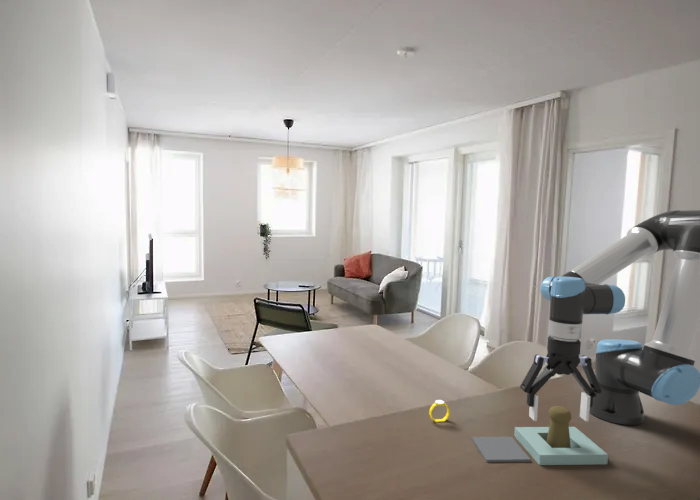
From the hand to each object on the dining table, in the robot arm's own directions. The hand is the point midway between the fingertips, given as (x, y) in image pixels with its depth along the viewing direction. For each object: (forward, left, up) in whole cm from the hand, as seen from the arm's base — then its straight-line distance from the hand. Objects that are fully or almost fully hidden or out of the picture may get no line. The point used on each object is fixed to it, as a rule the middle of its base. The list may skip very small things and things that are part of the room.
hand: (558, 418), depth 111 cm
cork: (0, 0, -8) cm, 8 cm away
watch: (+27, -16, -9) cm, 32 cm away
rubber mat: (+15, 0, -8) cm, 17 cm away
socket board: (0, 0, -8) cm, 8 cm away
